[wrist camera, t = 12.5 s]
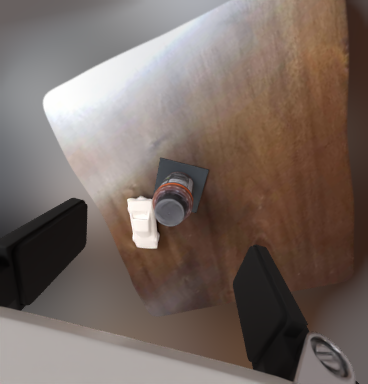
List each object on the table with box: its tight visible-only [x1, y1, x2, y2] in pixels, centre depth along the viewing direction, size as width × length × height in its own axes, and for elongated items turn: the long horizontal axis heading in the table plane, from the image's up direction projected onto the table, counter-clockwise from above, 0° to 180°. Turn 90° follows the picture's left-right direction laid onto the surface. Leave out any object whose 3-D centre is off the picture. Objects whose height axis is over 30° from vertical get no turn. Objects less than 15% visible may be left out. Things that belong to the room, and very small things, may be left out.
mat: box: [153, 158, 209, 213], centre depth 33 cm, size 9×9×1 cm
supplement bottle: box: [152, 172, 194, 226], centre depth 27 cm, size 6×6×11 cm
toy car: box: [127, 196, 160, 248], centre depth 34 cm, size 6×12×3 cm, turn 1°
